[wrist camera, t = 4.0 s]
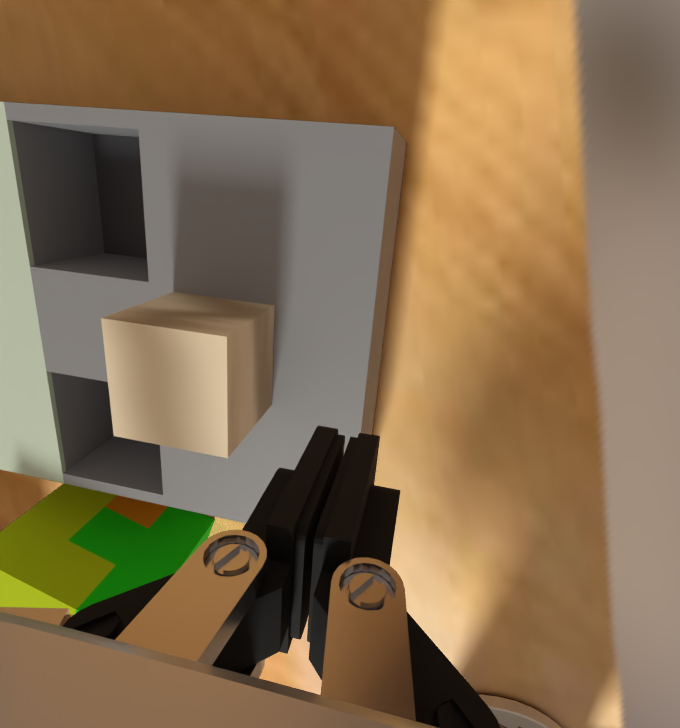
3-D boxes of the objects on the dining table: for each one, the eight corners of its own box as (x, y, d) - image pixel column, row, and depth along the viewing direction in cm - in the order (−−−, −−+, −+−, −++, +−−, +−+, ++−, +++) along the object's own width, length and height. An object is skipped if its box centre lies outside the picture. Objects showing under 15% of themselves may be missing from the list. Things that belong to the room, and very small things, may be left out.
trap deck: (406, 142, 23) (394, 126, 18) (366, 481, 30) (348, 545, 25) (-63, 109, 28) (-188, 89, 22) (-2, 410, 35) (-85, 450, 30)
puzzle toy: (75, 550, 39) (-41, 661, 30) (95, 459, 35) (-30, 554, 26) (182, 605, 38) (98, 736, 29) (215, 518, 34) (130, 637, 25)
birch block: (274, 305, 21) (226, 336, 17) (271, 404, 23) (227, 458, 18) (173, 291, 22) (100, 317, 17) (178, 388, 24) (113, 435, 19)
